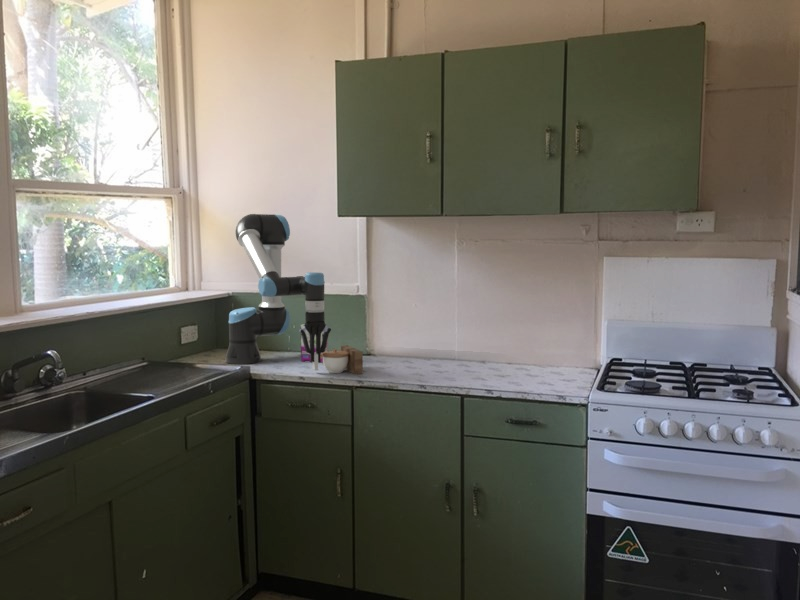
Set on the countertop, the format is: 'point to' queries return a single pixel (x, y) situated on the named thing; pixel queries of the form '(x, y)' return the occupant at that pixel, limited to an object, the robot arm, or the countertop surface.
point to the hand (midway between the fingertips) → (315, 369)
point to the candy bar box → (304, 354)
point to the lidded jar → (335, 361)
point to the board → (354, 360)
